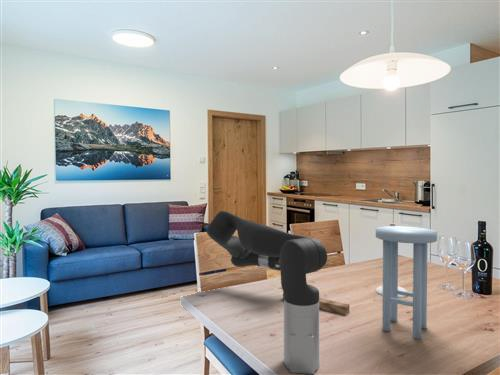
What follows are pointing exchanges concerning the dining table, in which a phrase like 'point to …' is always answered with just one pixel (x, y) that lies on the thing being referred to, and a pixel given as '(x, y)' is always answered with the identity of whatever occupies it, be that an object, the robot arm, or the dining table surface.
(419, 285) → the stool
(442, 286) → the dining table surface
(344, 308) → the thin wooden plank
